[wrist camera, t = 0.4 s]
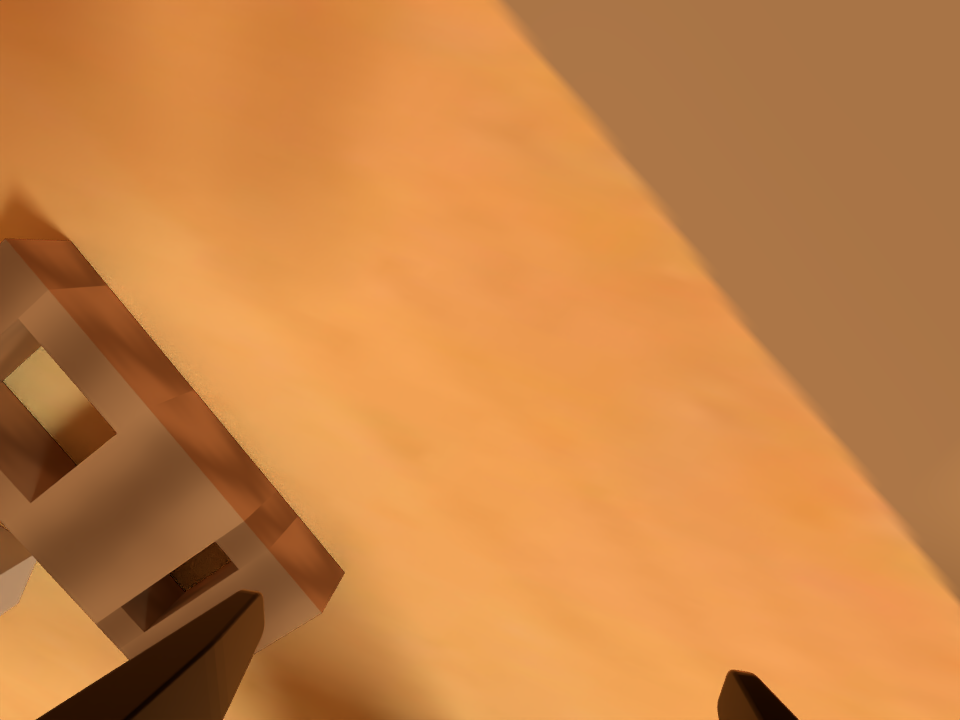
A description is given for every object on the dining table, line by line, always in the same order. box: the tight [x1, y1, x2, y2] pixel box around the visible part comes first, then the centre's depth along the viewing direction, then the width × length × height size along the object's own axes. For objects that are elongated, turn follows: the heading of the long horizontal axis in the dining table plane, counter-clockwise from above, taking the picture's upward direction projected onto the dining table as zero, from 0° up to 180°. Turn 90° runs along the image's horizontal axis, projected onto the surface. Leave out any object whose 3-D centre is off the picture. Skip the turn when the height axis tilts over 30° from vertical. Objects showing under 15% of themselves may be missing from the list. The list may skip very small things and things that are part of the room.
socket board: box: [0, 239, 345, 660], centre depth 24 cm, size 22×11×3 cm, turn 36°
